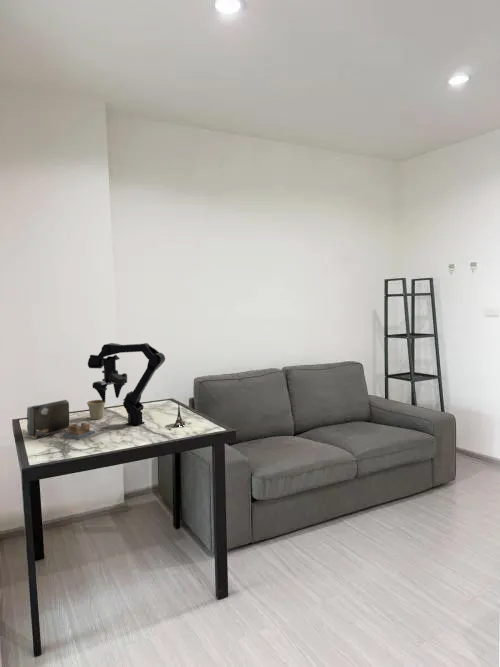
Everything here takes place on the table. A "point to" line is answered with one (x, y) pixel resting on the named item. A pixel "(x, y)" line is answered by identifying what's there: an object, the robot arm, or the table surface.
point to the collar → (78, 429)
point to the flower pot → (96, 408)
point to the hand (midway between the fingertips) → (110, 399)
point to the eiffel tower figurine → (179, 420)
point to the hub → (78, 435)
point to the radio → (47, 419)
